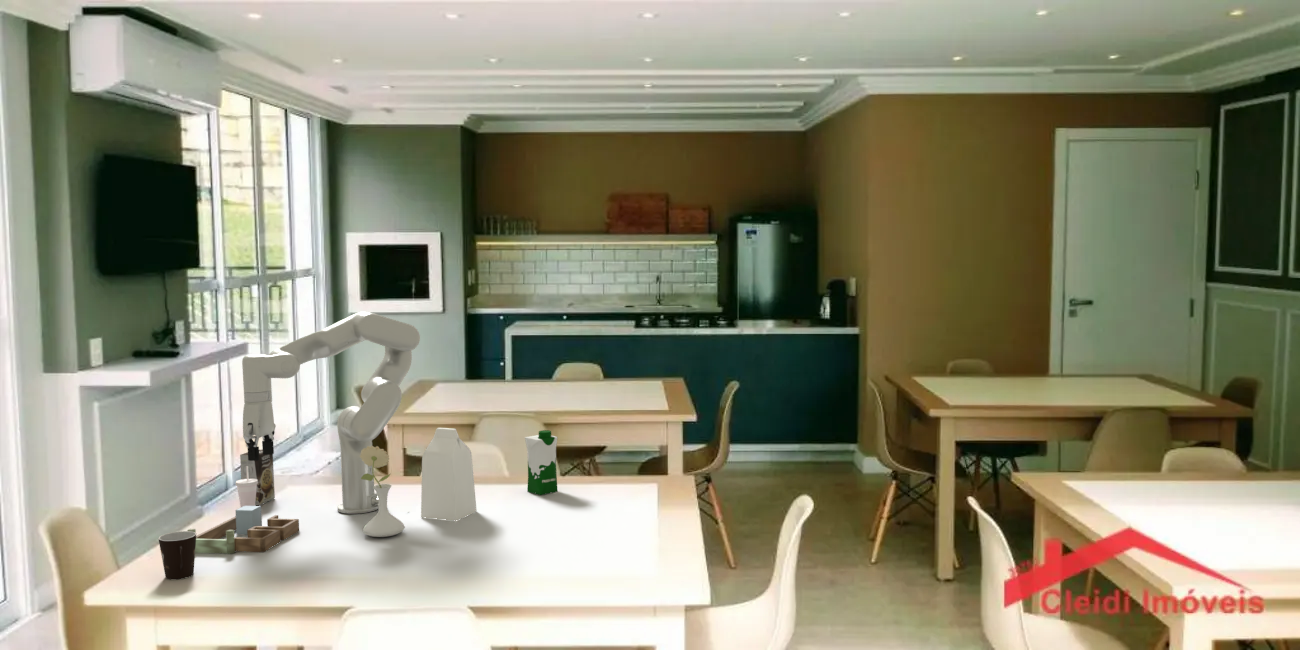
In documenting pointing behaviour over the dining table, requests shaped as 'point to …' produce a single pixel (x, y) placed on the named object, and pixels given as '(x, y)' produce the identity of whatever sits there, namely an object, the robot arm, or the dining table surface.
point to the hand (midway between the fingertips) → (261, 457)
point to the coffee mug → (178, 553)
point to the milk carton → (542, 463)
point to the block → (248, 518)
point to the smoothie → (247, 490)
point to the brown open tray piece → (256, 541)
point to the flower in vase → (380, 496)
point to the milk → (447, 477)
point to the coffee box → (260, 475)
